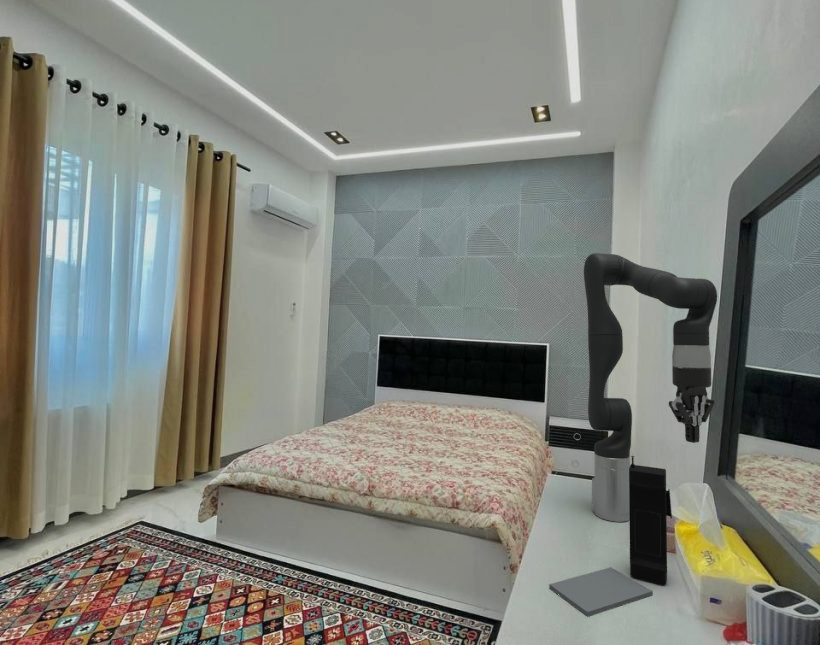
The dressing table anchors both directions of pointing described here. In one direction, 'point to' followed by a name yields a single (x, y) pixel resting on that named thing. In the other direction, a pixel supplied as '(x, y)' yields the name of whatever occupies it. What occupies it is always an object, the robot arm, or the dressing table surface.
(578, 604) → the charcoal pad
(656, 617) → the dressing table surface
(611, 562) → the dressing table surface
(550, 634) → the dressing table surface
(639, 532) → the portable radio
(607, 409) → the robot arm
